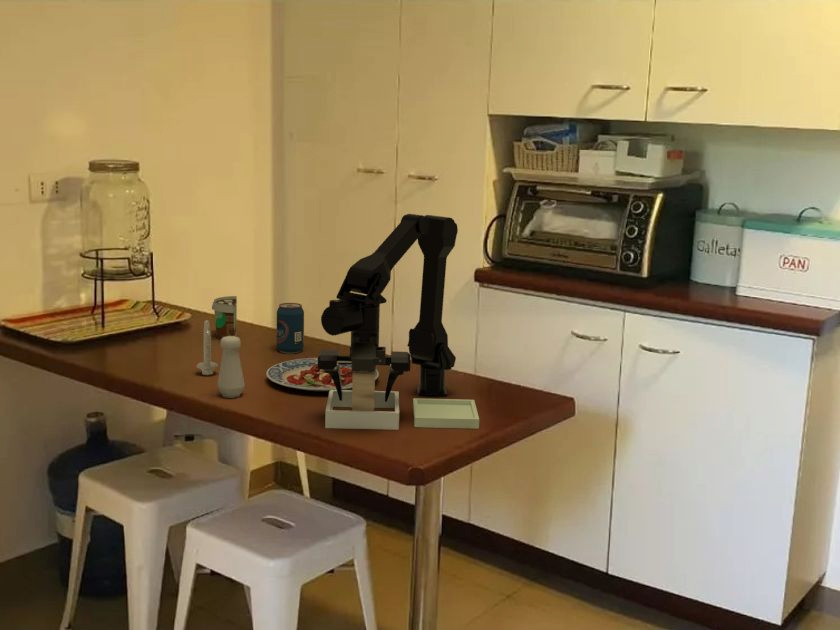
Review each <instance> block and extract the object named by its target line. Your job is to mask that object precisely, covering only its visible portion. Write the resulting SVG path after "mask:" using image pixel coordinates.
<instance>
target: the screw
mask: <svg viewBox="0 0 840 630" xmlns="http://www.w3.org/2000/svg"><path fill="white" fill-rule="evenodd" d="M210 324H211V323H210V320H208V319H206V320H204V322H203V332H202V333H203V343H202V344H203V352H202V353H203V361H202V362H201V361H200V362H198V363H197V364H196V368H197V369H200V370H201V374H202V376H211V375H214V370H215V369H217V368H218V367H219V364H218V363H217V362H214V361H212V350H211V349H212V340H211V339H212V333H211V325H210Z"/></svg>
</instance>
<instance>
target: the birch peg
mask: <svg viewBox="0 0 840 630" xmlns="http://www.w3.org/2000/svg"><path fill="white" fill-rule="evenodd" d="M351 390H352V407H351V411H375V408H374V398H375V391H376V380H375V371H374V372H368V371H359V372H355V371H353V379H352V388H351Z"/></svg>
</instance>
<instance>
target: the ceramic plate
mask: <svg viewBox="0 0 840 630" xmlns="http://www.w3.org/2000/svg"><path fill="white" fill-rule="evenodd" d="M317 368H318V357H308V358H297V359H291V360H287V361H283V362H278V363H277V364H273V365H272V366H271V367H269V368H268V369H267V370H266V377H267V378H268V380H270V382H273V383H276V384H278V385H281V386H284V387H288V388H292V389H293V388H294V389H298V390H304V391H307V392H330V390H336V386H335V384H334V381H333V379H332V377H331V376H330V374H329V373H324V369H317ZM340 373H341V383H342V390H350V389H352V379H353V371H352V369H351V364H340ZM378 377H379V371H378V369H376V370H375V381H376V380H377V379H378Z"/></svg>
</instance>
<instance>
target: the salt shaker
mask: <svg viewBox="0 0 840 630" xmlns="http://www.w3.org/2000/svg"><path fill="white" fill-rule="evenodd" d="M241 344H242V342H241V338H240V337H238V336H226V337H223V338H222V339H221V340H220V348H221V349H222V354H221V355H222V356H221V359H220V360H221V361H220V368H219V374H218V379H217V388H218V390H219V392H220V395H221V396H222V397H223V398H228V399H232V398H233V399H234V398H238V397H240V396H241V394H242V392H243V391H244V388H245V385H246V383H245V380H244V379H245V378H244V374H243V368H242V363H241V359H240V358H241V357H240V352H239V349H240V348H241V346H242V345H241Z"/></svg>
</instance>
